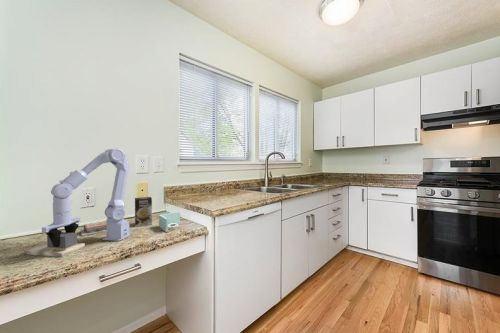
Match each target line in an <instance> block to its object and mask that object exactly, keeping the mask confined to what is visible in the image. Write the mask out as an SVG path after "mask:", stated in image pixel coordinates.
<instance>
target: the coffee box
mask: <svg viewBox="0 0 500 333" xmlns="http://www.w3.org/2000/svg"><path fill="white" fill-rule="evenodd" d="M152 225H153V198H152V197H151V196H144V197H141V196H140V197H135V198H134V228H135V227H137V228H138V227H144V226H145V227H146V226H152Z"/></svg>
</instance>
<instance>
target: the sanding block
mask: <svg viewBox="0 0 500 333" xmlns="http://www.w3.org/2000/svg"><path fill="white" fill-rule="evenodd" d="M46 241H47V242H46V243H47V248H48V249H54V250H68V249H70V248H73V247H75V246H77V243H78V233H77V232H75V233H68V232H64V231H62V232H61V235H60V245H59V247H53V244H52V242H51V240H50V238H49V237H48V235H46Z"/></svg>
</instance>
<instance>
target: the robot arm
mask: <svg viewBox="0 0 500 333" xmlns="http://www.w3.org/2000/svg"><path fill="white" fill-rule="evenodd" d="M107 163H111V164H112V165H113V166H114V167H115V168H116V173H115V176H114V182H113V188H112V194H111V198H110V200H109V202H108V204H107V207H106V208H105V209H104V215H105V217H107V218H106V220H105V221H106V227H107V232H106V236H104V238H102V241H115V242H117V241H118V242H120V241H121V240H125V239H126V238H128V237H130V236H131V235H132V234H131V233H130V222H129V221H128V220H125V219H124V218H125V216H126V210H125V203H124V198H125V192H126V186H127V182H128V175H129V171H130V164H129V162H128V159H127V154H126V153H125V151H123V150H122V149H121V148H118V147H117V148H108V149H105V150H104V151H103V152H101V153H99V154H98V155H97V156H96V157H95V158H93V159H92V160H91V161H90V162H89V163H88V164H86V165H85V166H84V167H83V168H81V169H80V170H77V169H75V170H74V171H70V172H69V175H68V176H66V177H65V178H63V179H60V180H59V181H58V182H59V183H56V184H55V185H53V186H52V188H51V190H50V193H51V195H52V216H53V217H52V218H53V222H52V223H50V224H49V225H48V224H47V225H46V226H43V227H41V232H42V233H43V234H46V236H48V237H49V238H50V240H51V242H52V244H53V247H59V245H60V235H61V232H63V231H62V230H61V228H64V231H65V232H68V233H76V231H77V229H78V228H79V227H80V226H79V223H81V217H75V218H74V217H73V218H72V209H71V207H72V203H71V195H72V193H73V191H74V190H76V189H77V188H78V187H79V186H81V185H82V184H83V183H84V182H85V181H87V179H88V175H89V174H91V173H92V172H94V171H95V170H97V168H99V167H100V166H101V165H103V164H107Z"/></svg>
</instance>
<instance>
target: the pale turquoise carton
mask: <svg viewBox="0 0 500 333" xmlns="http://www.w3.org/2000/svg"><path fill="white" fill-rule="evenodd" d="M179 224H181V212H180V211H175V212H167V213H162V214H158V227H159V228H160V229H161V230H163V231H164V232H166V233H168V232H169V230H176V229H178V228H179V226H180V225H179Z"/></svg>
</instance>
